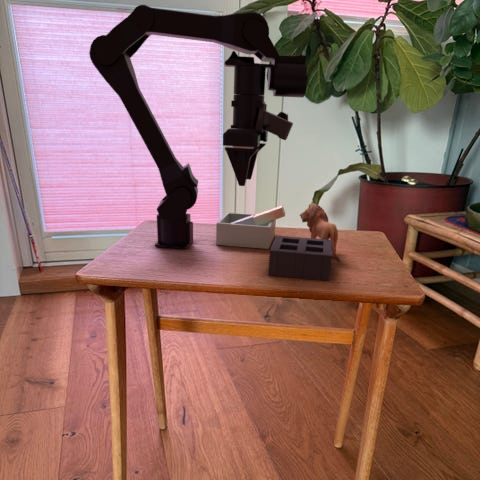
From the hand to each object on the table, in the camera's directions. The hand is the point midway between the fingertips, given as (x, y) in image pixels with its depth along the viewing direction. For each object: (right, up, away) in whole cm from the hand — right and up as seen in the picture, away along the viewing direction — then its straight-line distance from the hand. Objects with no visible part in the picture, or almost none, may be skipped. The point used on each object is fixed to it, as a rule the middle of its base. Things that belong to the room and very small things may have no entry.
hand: (245, 182), depth 91 cm
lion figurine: (+15, -14, +3) cm, 21 cm away
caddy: (+10, -18, -7) cm, 22 cm away
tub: (0, -10, +10) cm, 14 cm away
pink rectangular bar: (-4, -8, +10) cm, 13 cm away
